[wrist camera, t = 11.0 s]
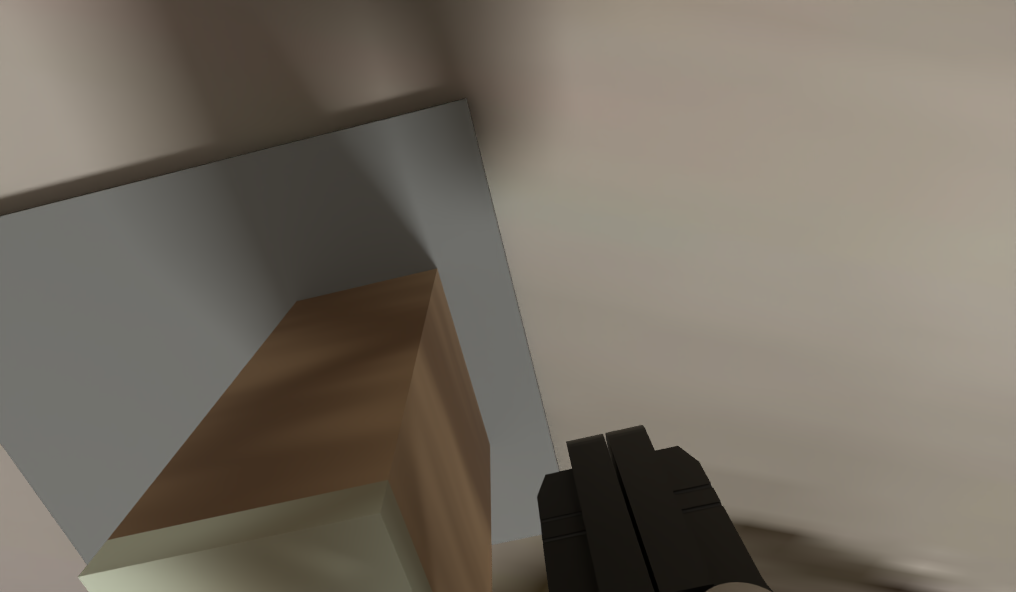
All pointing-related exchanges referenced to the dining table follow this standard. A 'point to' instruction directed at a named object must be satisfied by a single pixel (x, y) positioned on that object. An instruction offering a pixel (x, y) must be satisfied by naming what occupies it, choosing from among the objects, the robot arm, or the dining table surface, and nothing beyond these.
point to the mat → (246, 304)
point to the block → (325, 463)
